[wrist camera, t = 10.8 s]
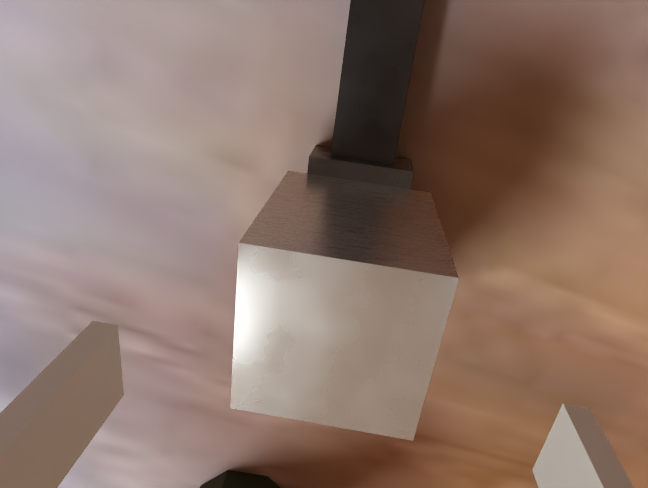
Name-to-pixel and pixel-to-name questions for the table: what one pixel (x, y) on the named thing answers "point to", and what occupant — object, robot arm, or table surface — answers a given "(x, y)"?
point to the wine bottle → (240, 481)
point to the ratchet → (372, 95)
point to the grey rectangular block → (341, 305)
